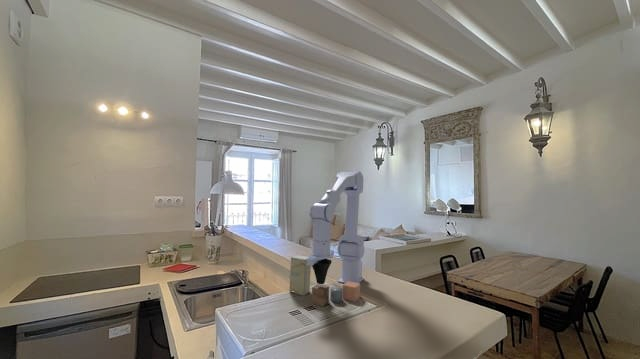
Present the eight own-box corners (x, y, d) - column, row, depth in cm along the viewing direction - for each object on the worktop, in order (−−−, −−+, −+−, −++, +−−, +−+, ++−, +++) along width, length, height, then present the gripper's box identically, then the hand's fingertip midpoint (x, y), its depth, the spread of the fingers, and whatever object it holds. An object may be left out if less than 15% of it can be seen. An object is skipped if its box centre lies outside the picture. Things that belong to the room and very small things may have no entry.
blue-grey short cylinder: (333, 296, 84) (333, 286, 85) (344, 299, 82) (344, 288, 83) (328, 301, 81) (328, 290, 81) (339, 303, 79) (339, 292, 79)
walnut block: (318, 299, 82) (318, 283, 83) (328, 301, 80) (329, 286, 81) (311, 303, 79) (312, 287, 79) (322, 306, 77) (323, 290, 77)
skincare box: (289, 292, 88) (289, 257, 88) (296, 288, 92) (296, 254, 92) (304, 295, 85) (305, 259, 85) (310, 291, 89) (311, 256, 89)
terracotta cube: (347, 294, 87) (348, 281, 87) (360, 297, 85) (360, 283, 85) (342, 298, 83) (342, 285, 83) (355, 301, 81) (355, 287, 81)
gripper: (321, 245, 73) (320, 293, 72) (341, 238, 85) (341, 279, 84) (301, 242, 76) (300, 288, 75) (323, 236, 89) (323, 275, 88)
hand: (320, 283), depth 80 cm, fingers closed
